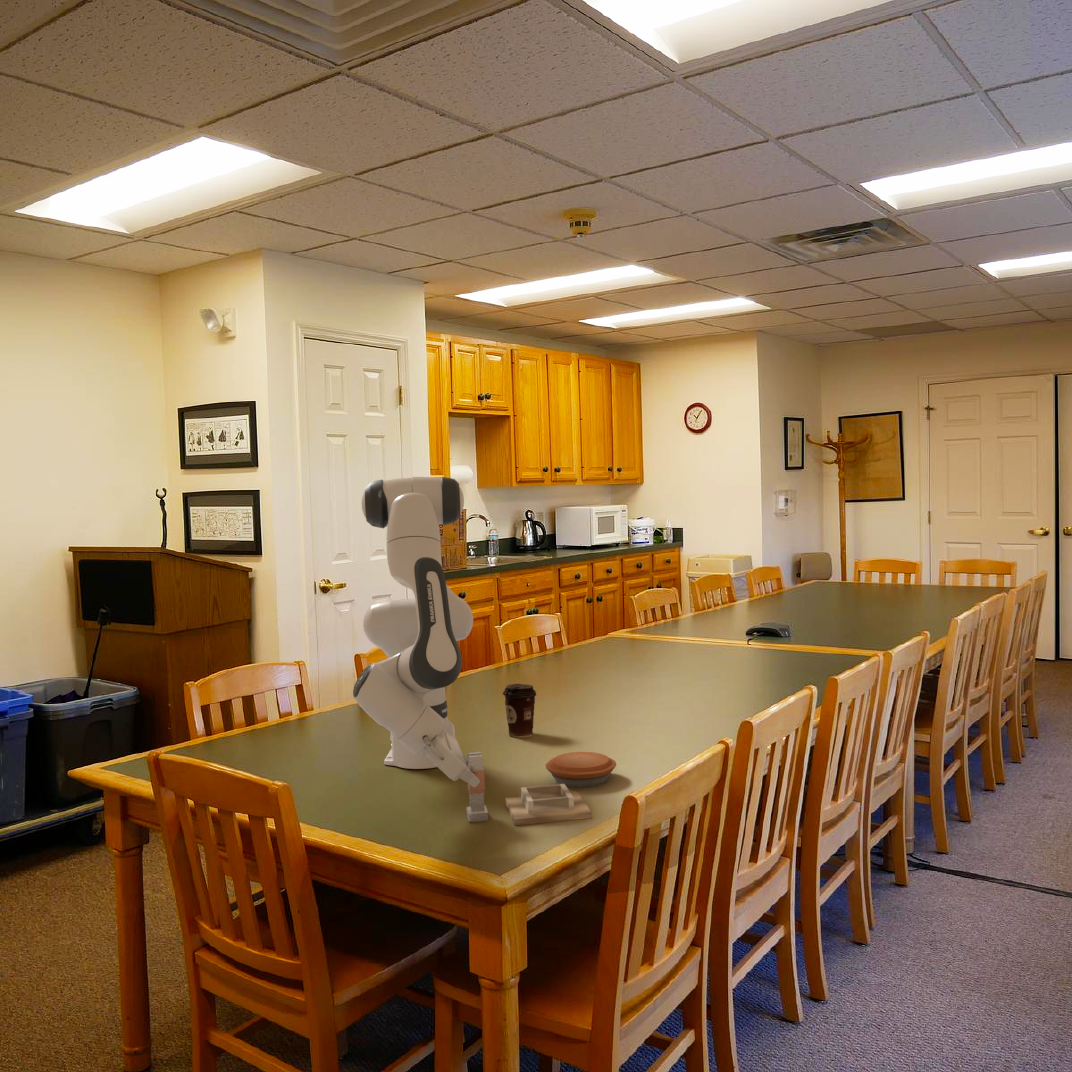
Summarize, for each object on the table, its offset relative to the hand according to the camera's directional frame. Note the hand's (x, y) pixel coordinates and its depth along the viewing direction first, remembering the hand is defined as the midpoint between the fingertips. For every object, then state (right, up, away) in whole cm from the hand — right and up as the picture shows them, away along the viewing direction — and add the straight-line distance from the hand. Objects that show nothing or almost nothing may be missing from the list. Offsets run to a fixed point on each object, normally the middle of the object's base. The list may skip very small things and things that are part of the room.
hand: (474, 776), depth 186 cm
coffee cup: (+8, -5, +62) cm, 62 cm away
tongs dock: (+14, -7, +3) cm, 16 cm away
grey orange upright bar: (+1, -8, +1) cm, 8 cm away
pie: (+22, -7, +23) cm, 32 cm away
